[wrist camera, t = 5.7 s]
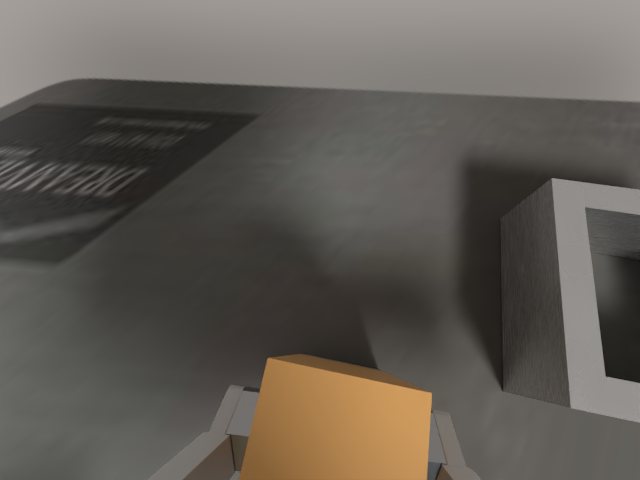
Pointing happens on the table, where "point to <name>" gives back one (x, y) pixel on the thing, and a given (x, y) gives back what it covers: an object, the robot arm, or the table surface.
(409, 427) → the plug
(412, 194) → the table surface
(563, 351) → the white shallow box
